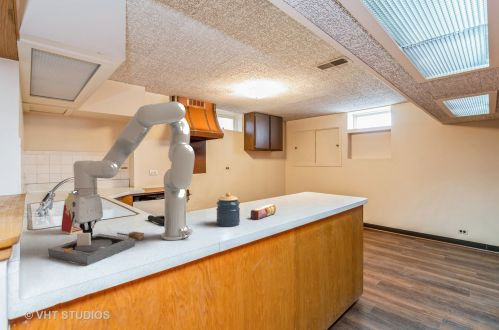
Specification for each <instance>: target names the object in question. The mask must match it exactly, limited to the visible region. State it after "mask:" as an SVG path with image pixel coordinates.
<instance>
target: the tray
mask: <svg viewBox="0 0 499 330" xmlns="http://www.w3.org/2000/svg"><path fill="white" fill-rule="evenodd" d="M93 240H110V241H112V245H110V246H107V247H104V248H102V249H99V250H96V251H93V252H91V253H87V252H82V251H76V250H75V247H76V246H77V239H75V240H73V241H70V242H67V243H63V244H60V245H57V246H53V247H51V248H50V247H49V248H47V250H48V252H47V254H48V255H47V257H48V258H49V259H50V258H51V259H55V260H61V261H66V262H69V263H74V264H78V265H82V266H90V265H92V264H95V263H97V262H100V261H103V260H105V259H107V258H110V257H111V256H114V255H117V254H119V253H122V252H124V251H127V250H129V249H132V248H135V247H136V240H135V239H132V238H129V237H125V236H124V237H123V236H119V235H111V234H105V233H104V234H103V233H97V234H93V235H92V239H91V241H93Z"/></svg>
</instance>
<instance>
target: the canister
mask: <svg viewBox="0 0 499 330" xmlns="http://www.w3.org/2000/svg"><path fill="white" fill-rule="evenodd" d="M217 200H218V201H217V202H216V206H217V207H216V208H215V209H216V225H217V226H219V227H228V228H229V227H237V226H238V225H240V223H241V220H240V218H241V217H240V216H241V214H240V213H241V211H240V210H241V208H240V203H241V202H240V201H239V198H238V196H236V195H232V194H231V192H230V191H227V192H226V193H225V195H221V196H220V197H218V198H217Z"/></svg>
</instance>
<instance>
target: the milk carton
mask: <svg viewBox="0 0 499 330" xmlns="http://www.w3.org/2000/svg"><path fill="white" fill-rule="evenodd" d="M73 197H75V196H74V194H73V195H72V194H71V192H70V193H68V195H67V197H66V198H65V199H64V204H63V210H62V215H61V217H62V218H61V227H60V228H61V230H60V233H62V234H67V235H69V236H71V235H75V234H76V235H77V234H78V233H83V231H82V229H81V228H80V227H73V226H72V224H73V222H72V221H71V206H72V200H73Z"/></svg>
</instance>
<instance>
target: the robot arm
mask: <svg viewBox="0 0 499 330" xmlns="http://www.w3.org/2000/svg"><path fill="white" fill-rule="evenodd" d="M186 112H187V111H186V108H185V106H184V105H183V104H182V103H181V102H179V101H167V102H160V103H152V104H145V105H142V106H140V107H139V108H138V109H137V111H136V112H135V113H134V115H132V117H131V119H130V120H129V122H127V124H126V126H125V127H123V129H122V130H121V131H120V133H119V135H118V136H117V138H116V139H115V141H114V143H113V145H112V146H111V147H110V149H109V150H108V152H107V153H106V154H105V156H104V157H103V158H102V160H76V161H74V163H73V190H72V191H70V193H71V194H72V195H73V194H74V196H75V197H73V200H72V206H71V221H72V222H73V224H72V226H73V227H80V228H81V229H82V231H83V232H82V233H91V239H92V236H93V235H94V234H93V232H94V228H95V225H96V224H97V223H98V222H100V221H101V220H102V218H103V217H104V211H103V203H102V198H101V195H100V194H99V193H98V179H104V180H105V179H106V180H107V179H113V178H114V177H116V176H117V175H118V174H119V170H120V169H121V167H122V165H123V164H124V163H125V161H126V160H127V159H128V158H129V156H131V154H132V153H133V152H134V151H136V150H137V149H138V147H139V146H140V145H141V143H142V142H143V140H144V139H145V138H146V136H147V135H148V134H149V132H150V131H151V130H152V128H153V127H154V126H156V125H164V124H167V125H168V127H169V128H170V141H169V149H168V152H167V153H168V154H167V157H168V159H169V162H171V166H170V168H169V169H168V170H166V171H165V173H164V176H163V189H164V192H163V193H164V194H163V195H164V216H165V226H164V232H162V233H161V234H160V237H161V239H163V240H165V241H176V240H178V241H179V240H183V239H186V238H188V237H189V236H191V235H192V234H193V229H192V228H191V229H189V225H187V192H186V191H187V189H188V188H189V186H190V185H191V184H192V179H193V175H194V174H193V173H194V167H195V161H196V160H195V157H196V156H195V150H194V149H193V147H192V146H191V145H190V142H191V140H190V139H191V129H190V126H189V123H188V121H187V119H186V117H185V116H186Z"/></svg>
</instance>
